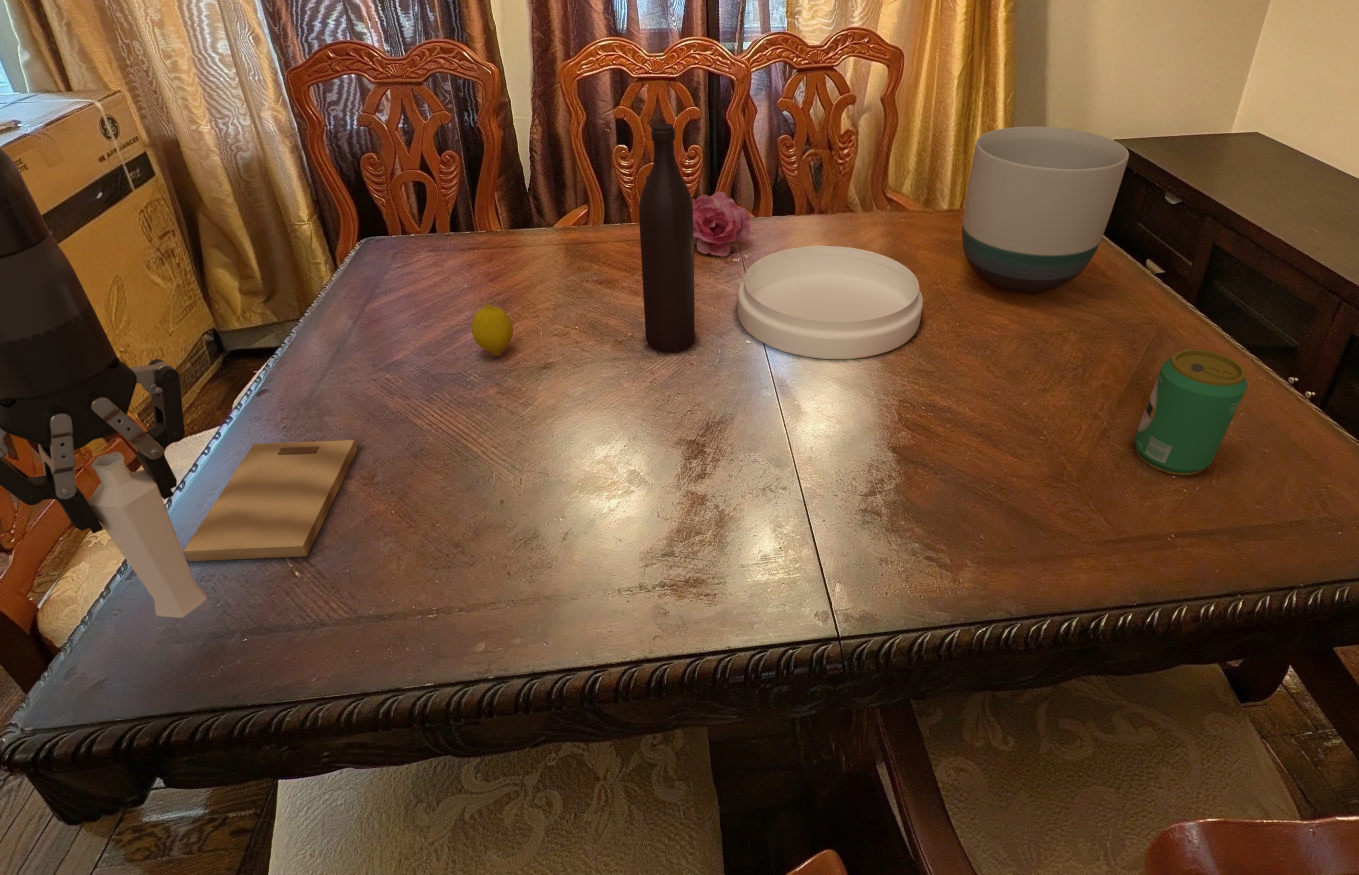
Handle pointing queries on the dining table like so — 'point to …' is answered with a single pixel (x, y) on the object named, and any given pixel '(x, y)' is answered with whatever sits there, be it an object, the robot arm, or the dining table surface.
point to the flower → (718, 223)
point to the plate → (830, 302)
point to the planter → (1038, 204)
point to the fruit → (492, 329)
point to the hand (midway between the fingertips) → (130, 508)
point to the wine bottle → (667, 249)
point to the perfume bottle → (144, 535)
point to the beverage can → (1189, 411)
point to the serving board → (274, 502)
